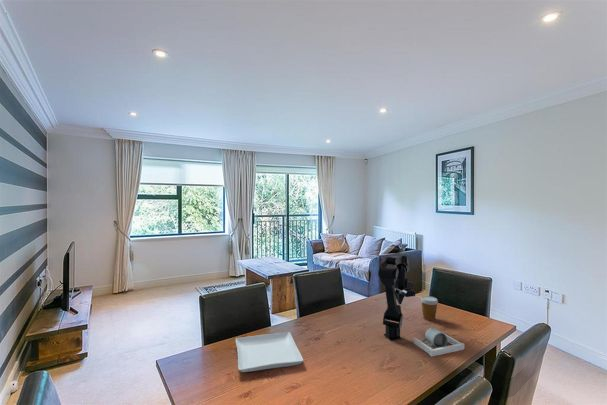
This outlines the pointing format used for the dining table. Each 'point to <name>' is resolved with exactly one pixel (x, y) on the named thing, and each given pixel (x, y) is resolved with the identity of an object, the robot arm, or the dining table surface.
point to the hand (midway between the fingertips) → (399, 304)
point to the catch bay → (443, 350)
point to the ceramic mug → (435, 338)
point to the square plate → (267, 352)
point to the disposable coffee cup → (429, 307)
